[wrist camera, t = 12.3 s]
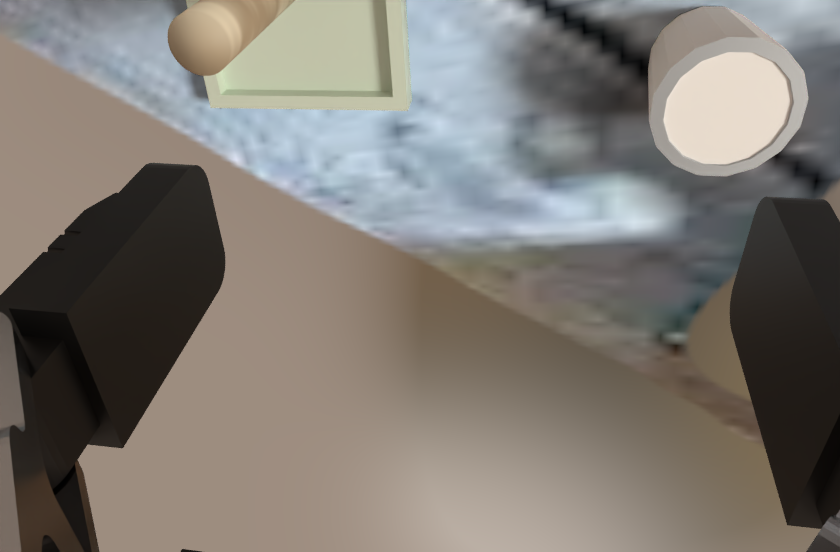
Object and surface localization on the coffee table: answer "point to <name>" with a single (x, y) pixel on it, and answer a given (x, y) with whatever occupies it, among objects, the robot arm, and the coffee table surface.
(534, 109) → the coffee table surface
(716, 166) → the beige cylinder
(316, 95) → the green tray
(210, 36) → the birch pin
